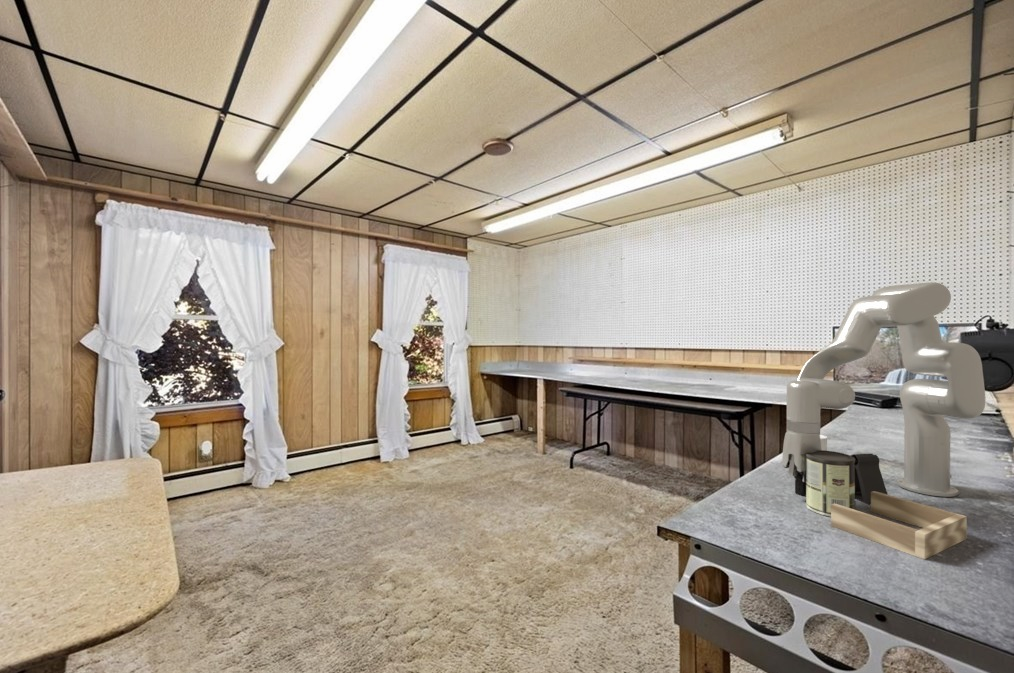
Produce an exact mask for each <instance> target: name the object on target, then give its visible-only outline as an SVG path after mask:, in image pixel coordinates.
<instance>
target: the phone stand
mask: <svg viewBox="0 0 1014 673" xmlns="http://www.w3.org/2000/svg"><path fill="white" fill-rule="evenodd" d="M850 456H852V457H854V458H855V501H856V500H857V501H859V502H860V503H863V504H866V505H869V506H871V492H872V491H876V492H880V493H883V494H887V495H889V493H888V491H887V488H886V485H885V481H884V479H883V474H882V473H881V472H882V471H881V468H880V457H879V456H878V454H874V453H859V454H858V453H855V454H851V455H850Z"/></svg>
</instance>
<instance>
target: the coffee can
mask: <svg viewBox="0 0 1014 673" xmlns="http://www.w3.org/2000/svg"><path fill="white" fill-rule="evenodd" d="M805 455H806V497H805V498H806V499H805V501H806V502H805V507H806V509H808V510H809V511H811V512H813V513H817V514H818V515H822V516H826V517H830V518H831V504H834V503H835V504H838V505H841V506H844V507H848V508H851V509H854V510H856V499H855V458H854V457H852V456H851V455H849V454H847V453H844V452H838V451H834V452H833V450H827V451H825V450H818V451H816V452H812V453H805Z"/></svg>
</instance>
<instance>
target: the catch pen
mask: <svg viewBox="0 0 1014 673" xmlns="http://www.w3.org/2000/svg"><path fill="white" fill-rule="evenodd" d="M887 494H888V493H887ZM887 494H883V493H880V492H876V491H872V492H871V505H870V512H871V513H875V514H877V515H881V516H883V517H887V518H890V519H893V520H897V521H899V522H903V523H907V524H909V525H913V526H915V527H920V529H917V528H914V527H910V526H907V525H904V524H902V523H901V524H900V523H898V522H894V521H891V520H888V519H885V518H881V517H879V516H876V515H873V514H870V513H865V512H863V511H860V510H856V509H855V510H854V509H851V508H848V507H844V506H841V505H838V504H835V503H834V504H831V517H830V527H834V528H836V529H839V530H842V531H844V532H848V533H851V534H853V535H855V536H858V537H861V538H864V539H867V540H870V541H873V542H876V543H877V544H881V545H884V546H886V547H889V548H892V549H894V550H897V551H899V552H900V551H901V552H903V553H906V554H907V555H911V556H913V557H917V558H919V559H921V560H926V559H928V558H930V557H933V556H935V555H937V554H939V553H941V552H943V551H945V550H947V549H949V548H952V547H953V546H955V545H957V544H959V543H961V542H964V541H966V540H967V531H968V530H967V524H968V523H967V522H968V521H967V519H968V518H967V516H966V515H963V514H959V513H956V512H953V511H949V510H945V509H942V508H941V509H940V508H938V507H933V506H930V505H927V504H923V503H919V502H916V501H912V500H908V499H905V498H901V497H896V496H893V495H889V494H888V495H887Z"/></svg>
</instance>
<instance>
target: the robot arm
mask: <svg viewBox="0 0 1014 673" xmlns="http://www.w3.org/2000/svg"><path fill="white" fill-rule="evenodd" d="M951 298H952V295H951V291H950V289H949V288H948V287H947V286H946V285H945V284H942V283H940V282H934V281H932V282H931V281H929V282H920V283H919V282H917V283H909V284H898V285H897V284H896V285H889V286H884V287H881V288H878V289H876V290H875V291H874V292H873V293H872V295H869V296H862V297H858V298H857V299H855V300H853V302H852V303H851V304H850V306H849V307H848V309H847V312H846V313H845V315H844V317H843V319H842V321H841V323H840V325H839V327H838V330H837V331H836V333H835V336H834V338H833V339H832V341H831V342H830V343H829V344H828V345H826V346H824V347H823V348H822V349H820V350H819V351H817V352H816V353H815V354H813V356H811V357H810V358H809V359H808V360H807V361H806V362H805V364H804V365H803V366H802V368H801V369H800V372H799V374H798V376H797V378H796V380H792V381H789V382H788V383H787V384H786V432H785V434H784V439H783V447H782V462H781V463H782V467H783V468H784V469H788V471H787V472H788V473H787V474H788V476H792V477H793V480H794V493H795V494H796V495H799V496H801V497H804V498H806V455H805V453H812V452H816V451H818V450H821V441H820V435H821V409H831V410H843V409H846V408H849V407H850V406H852V405H853V403H854V402H855V399H856V393H855V389H853V388H852V387H851V385H849V384H847V383H845V382H843V381H838V380H831V379H825V377H826V376H828V374H829V373H830V372H831V371H833V370H834V369H836V368H838V367H840V366H842V365H845V364H849V363H851V362H854V361H857V360H860V359H864V357H866V356H868V355H869V354H870V351H871V349H872V348H873V346H874V344H875V341H876V340H877V338H878V335H879V333H880V331H881V330H882V328H884V327H896V328H897V330H898V336H899V341H900V342H899V343H900V349H901V358H902V365H903V367H904V369H905V370H906V371H907V372H908V373H911V374H914V375H921V376H930V377H941V378H946V379H947V380H942V379H931V378H929V379H928V378H914V379H913V378H912V379H910V380H907V381H906V382H904V383H903V384H902V385H901V387H900V389H899V399H900V404H901V408H902V412H903V422H904V424H903V425H904V428H903V429H904V432H903V433H904V436H903V437H904V438H903V439H904V440H903V442H904V443H903V444H904V446H903V447H904V450H903V451H904V453H903V454H904V455H903V456H904V459H903V460H904V461H903V463H904V464H903V465H904V469H903V470H904V473H903V475H904V477H900V478H898V479H897V480H896V484H897V486H899V487H901V489H902V488H903V489H905V490H907V491H911V492H913V493H918V494H922V495H927V496H934V497H945V498H947V497H948V498H950V497H951V498H952V497H957V496H958V495H959V490H958V488H956V487H954V486H952V485H951V479H952V476H953V475H952V474H951V438H952V437H951V429H950V426H949V423H948V422H947V420H946V419H945V417H944V416H946V417H952V418H957V419H958V418H960V419H975V418H977V417H979V416H981V415H982V413H983V412H984V410H985V407H986V402H987V401H986V390H985V379H984V372H983V363H982V359H981V356H980V354H979V352H978V351H977V350H976V348H974V347H973V346H971V345H970V344H968V343H963V342H951V341H950V342H949V341H948V342H947V341H945V342H944V341H943V339H942V336H941V330H940V325H939V322H938V320H937V319H936V317H935V316H936V315H939V314H941V313H942V312H944V311H946V309H947V308H948V307H949V305H950V303H951V301H952V299H951Z"/></svg>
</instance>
